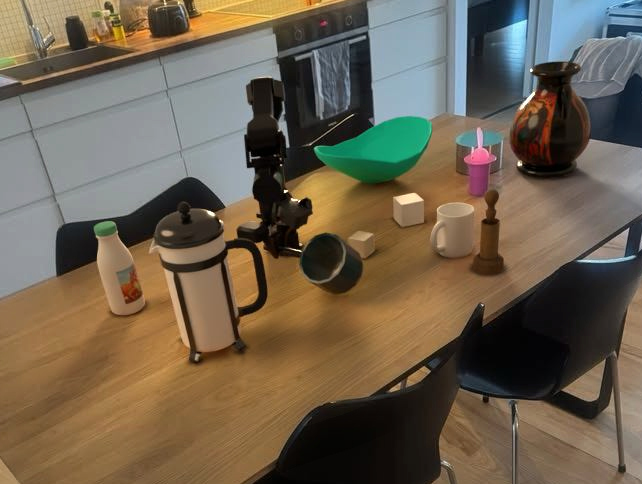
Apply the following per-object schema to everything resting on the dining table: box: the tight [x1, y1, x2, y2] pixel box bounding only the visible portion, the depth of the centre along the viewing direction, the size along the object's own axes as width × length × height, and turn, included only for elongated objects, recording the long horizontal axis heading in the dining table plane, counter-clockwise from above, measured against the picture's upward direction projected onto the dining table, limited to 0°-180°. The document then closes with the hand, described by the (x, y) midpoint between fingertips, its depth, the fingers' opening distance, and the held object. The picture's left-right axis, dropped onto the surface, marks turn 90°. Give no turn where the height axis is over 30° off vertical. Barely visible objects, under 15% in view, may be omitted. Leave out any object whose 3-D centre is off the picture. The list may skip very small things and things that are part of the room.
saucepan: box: [262, 232, 364, 295], centre depth 148 cm, size 11×22×8 cm
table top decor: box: [313, 115, 433, 185], centre depth 200 cm, size 40×28×13 cm
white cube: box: [392, 192, 425, 228], centre depth 175 cm, size 6×6×6 cm
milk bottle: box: [93, 220, 146, 316], centre depth 148 cm, size 8×8×20 cm
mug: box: [429, 202, 475, 259], centre depth 156 cm, size 12×8×10 cm
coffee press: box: [148, 201, 269, 364], centre depth 129 cm, size 17×16×30 cm
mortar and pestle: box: [472, 188, 505, 275], centre depth 146 cm, size 7×6×18 cm
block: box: [347, 230, 376, 259], centre depth 163 cm, size 4×4×4 cm
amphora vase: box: [508, 61, 592, 180], centre depth 187 cm, size 22×22×28 cm
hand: (278, 256), depth 151 cm, fingers closed on saucepan, 2 cm apart
